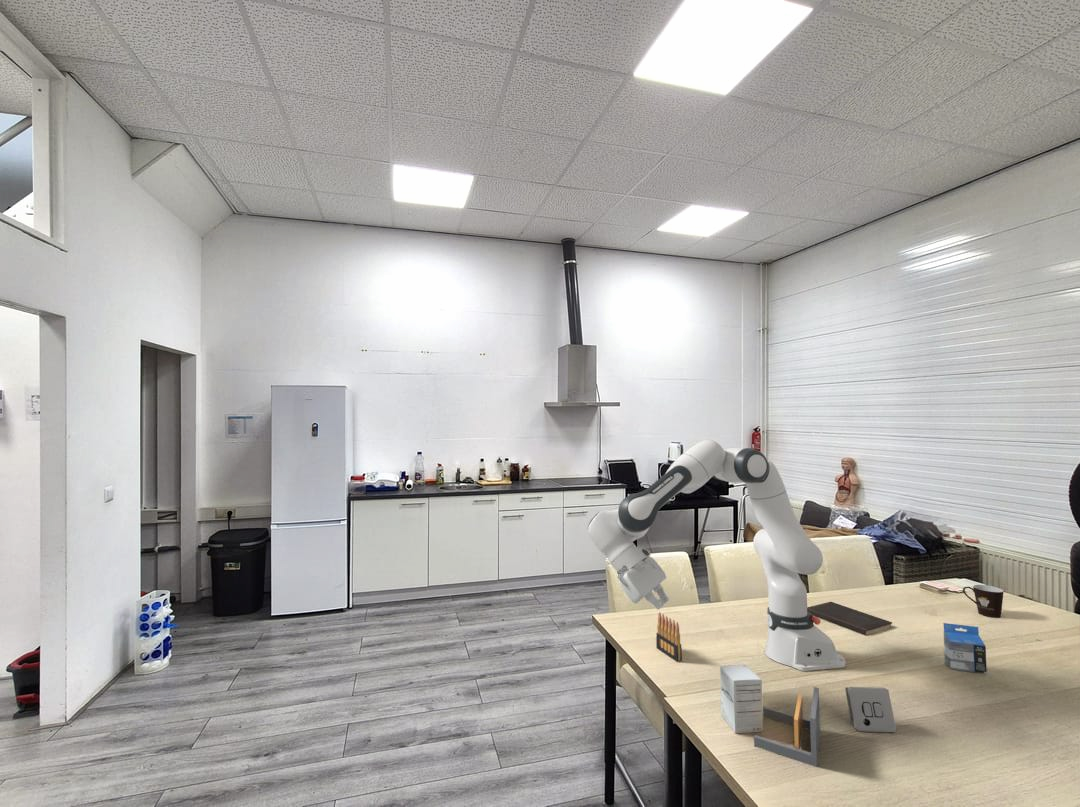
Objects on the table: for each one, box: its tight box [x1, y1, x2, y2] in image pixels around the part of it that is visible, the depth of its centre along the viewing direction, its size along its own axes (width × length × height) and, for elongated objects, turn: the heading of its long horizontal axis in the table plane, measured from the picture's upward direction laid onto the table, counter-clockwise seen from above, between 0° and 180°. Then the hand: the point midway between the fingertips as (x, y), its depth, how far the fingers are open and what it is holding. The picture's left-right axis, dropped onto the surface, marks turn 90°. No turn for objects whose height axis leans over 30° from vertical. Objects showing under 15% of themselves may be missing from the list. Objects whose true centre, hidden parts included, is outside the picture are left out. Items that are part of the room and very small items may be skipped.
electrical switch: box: [844, 686, 897, 733], centre depth 117 cm, size 9×5×9 cm, turn 86°
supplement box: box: [719, 664, 764, 734], centre depth 118 cm, size 7×7×13 cm
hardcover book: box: [807, 601, 893, 637], centre depth 180 cm, size 16×23×2 cm
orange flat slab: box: [793, 693, 804, 749], centre depth 111 cm, size 1×12×7 cm, turn 147°
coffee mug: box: [962, 584, 1004, 619], centre depth 185 cm, size 12×9×10 cm
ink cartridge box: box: [943, 622, 988, 675], centre depth 143 cm, size 9×4×12 cm, turn 70°
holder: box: [753, 686, 821, 768], centre depth 112 cm, size 12×14×10 cm
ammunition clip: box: [656, 611, 683, 663], centre depth 154 cm, size 11×2×12 cm, turn 24°
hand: (664, 604), depth 129 cm, fingers open, 3 cm apart
